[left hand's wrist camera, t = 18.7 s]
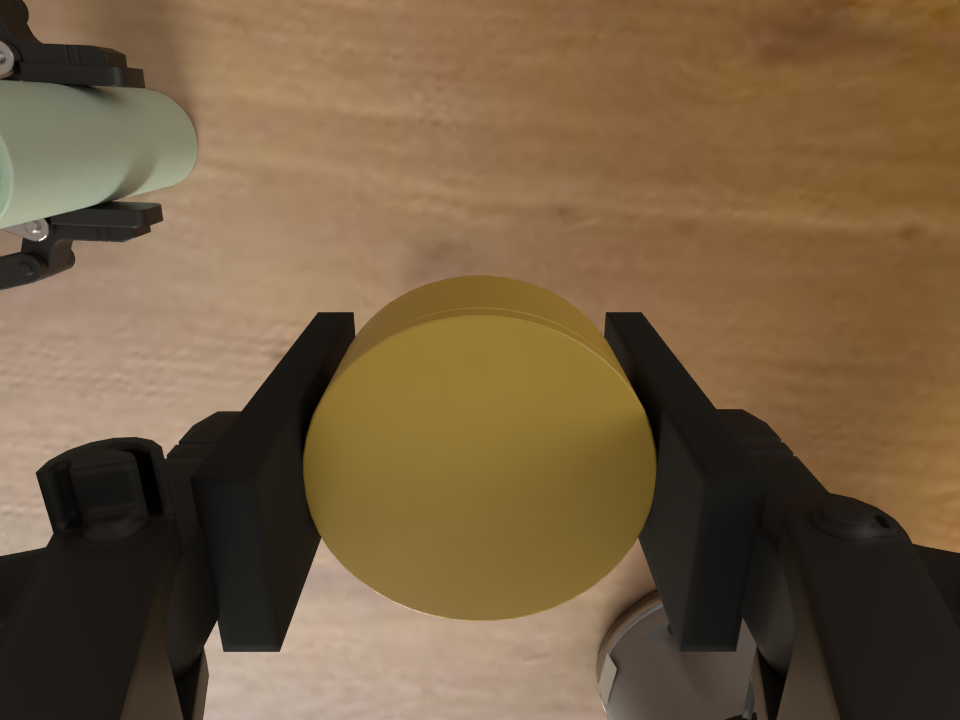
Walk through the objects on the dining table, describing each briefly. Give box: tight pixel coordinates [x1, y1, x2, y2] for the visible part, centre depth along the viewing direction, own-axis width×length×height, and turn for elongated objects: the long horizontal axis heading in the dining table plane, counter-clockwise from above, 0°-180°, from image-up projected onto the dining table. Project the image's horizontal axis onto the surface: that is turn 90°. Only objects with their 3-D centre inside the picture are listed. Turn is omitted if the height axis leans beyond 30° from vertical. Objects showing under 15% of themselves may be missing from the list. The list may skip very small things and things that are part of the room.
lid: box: [303, 276, 657, 621], centre depth 11 cm, size 5×5×2 cm
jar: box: [0, 80, 198, 229], centre depth 25 cm, size 5×5×16 cm
